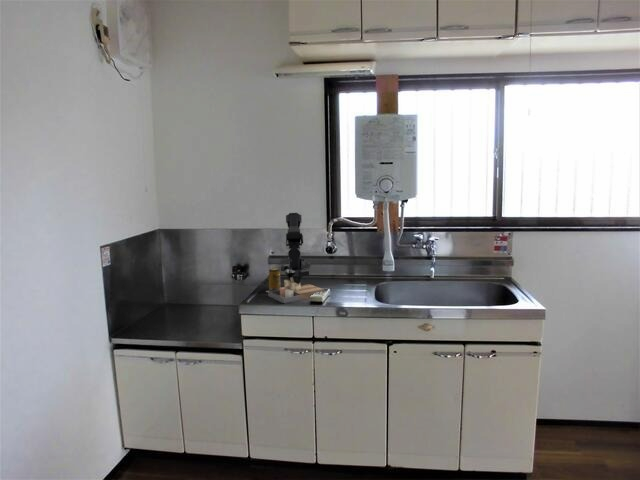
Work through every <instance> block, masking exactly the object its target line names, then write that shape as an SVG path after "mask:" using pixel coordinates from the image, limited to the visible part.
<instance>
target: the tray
mask: <svg viewBox="0 0 640 480" xmlns="http://www.w3.org/2000/svg"><path fill="white" fill-rule="evenodd" d="M268 291H269V290H268ZM268 297H269V298H271V299H273V300H275V301H276V302H277V301H278V302H279V303H282V304H283V303H285V304H290V302H291V303H295V302H300V301H302V300H301V297H300V295H298V294H295V293H293V296H292V297H286V298H285V297H282V296H280V290H275V291H269V293H268Z"/></svg>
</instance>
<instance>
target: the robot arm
mask: <svg viewBox="0 0 640 480" xmlns="http://www.w3.org/2000/svg"><path fill="white" fill-rule="evenodd" d="M302 222H303V221H302V214H300V213H299V212H289V213H288V214H286V215H285V224H286V225H287V233H285V238H286V239H285V242H286V243H285V244H286V245H285V246H286V247H288V252H287V256H288V257H287V258H286V261H288V262H287V264H282V265H281V266H280V271H281V272H285V271H286V272H285V275H286V276H287V278H288V279H287V280H289V281H291V278H290V277H293V280H294V283H297V284H299V283H300V286H302V277H307V276H310V275H311V274H310V272H311V271H310V269H311V266H312V263H311V262H307V261H306V260H305V259H304V258H302V257H301V246H303V244H304V235H303V233H302V232H301V224H302Z"/></svg>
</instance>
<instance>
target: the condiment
mask: <svg viewBox="0 0 640 480" xmlns="http://www.w3.org/2000/svg"><path fill="white" fill-rule="evenodd" d="M268 271H269V272H268V273H269V274H268V290H266V291H265V292H266V293H268V294H269V291H275V290H280V288H281V287H282V286H281V284H282V283H281V274H280V273H281V272H280V269H279V268H278V267H276V268H275V267H273V268H272V267H271V268H270V269H268Z"/></svg>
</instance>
